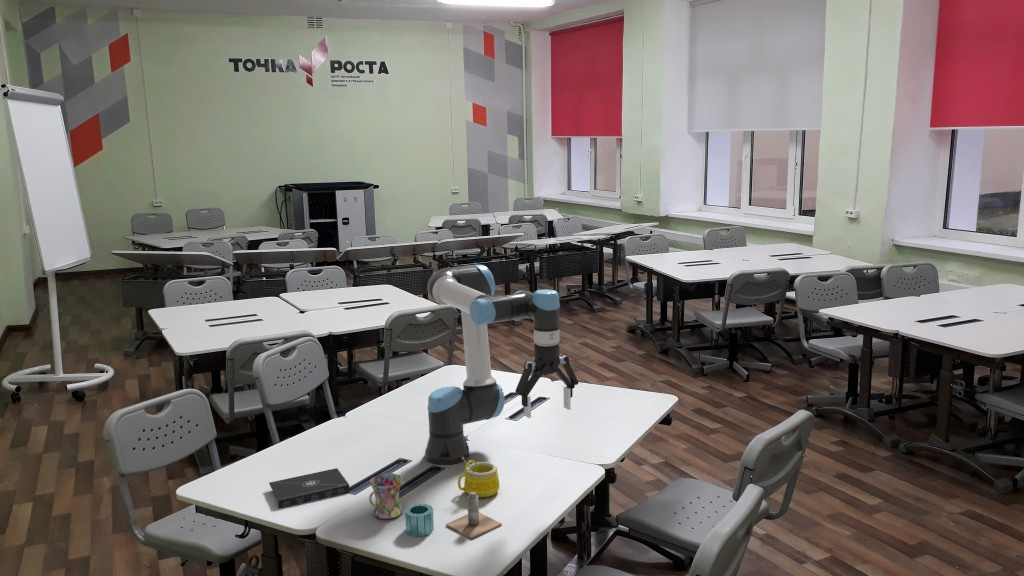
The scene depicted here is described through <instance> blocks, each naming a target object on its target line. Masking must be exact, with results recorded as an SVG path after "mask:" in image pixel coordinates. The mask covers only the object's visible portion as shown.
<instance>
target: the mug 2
mask: <svg viewBox="0 0 1024 576" xmlns="http://www.w3.org/2000/svg"><path fill="white" fill-rule="evenodd" d="M462 460H464V457H462ZM463 462H464V463H465V466H464V473H462V474H460V475H459V476H458V478H457V480H458V481H457V487H458V489H459V490H460V491H463V492H465V493H466V494H467V495H469V493H470V492H476V495H477V496H478V499H479V498H488V497H492V496H493V495H495V494H497V493H498V492H499V489H500V478H499V474H498V467H497V466H496V464H494V463H491V462H485V461H478V462H477V461H475V460H473V459H470V460H469V461H467V462H466V460H464V461H463ZM470 463H471V464H470ZM462 478H464V486H463V487H462V485H461V482H462V480H461V479H462Z"/></svg>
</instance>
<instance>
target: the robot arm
mask: <svg viewBox="0 0 1024 576" xmlns="http://www.w3.org/2000/svg"><path fill="white" fill-rule="evenodd" d="M426 288H427V293H428V296H429V297H430V298H431V299H432V300H433V301H434V302H436V303H437V304H440V305H443V306H447V305H449V306H452V307H454V308H456V309H458V310H460V314H461V326H462V335H463V336H462V337H463V347H464V361H465V371H466V379H465V380H464V381H463V382H462V383H463V384H462V386H463V387H462V388H463V389H462V388H461V387H460V386H456V385H455V386H452V385H451V386H444V387H440V388H437V389H435V390H434V391H432V392H431V393H430V394H429V396H428V398H427V411H428V430H429V431H428V434H429V436H428V440H427V444H426V447H425V451H424V458H425V460H426V461H427V462H429V463H431V464H436V465H454V464H458V463H462V462H465V461H466V460H467V459H468V458H469V457H470V448H469V445H468V441H467V439H466V437H465V434H464V425H467V424H471V423H472V424H473V423H477V422H480V421H485V420H486V421H488V420H491V419H493V418H496V417H499V415H501V413H502V412H503V411H504V406H505V394H504V393H505V392H504V390H503V387H502V385H500V384H499V383H497V379H496V378H494V376H492V369H491V367H492V366H491V355H490V343H489V333H488V325H489V324H494V323H501V322H508V321H514V320H521V319H530V320H533V342H534V343H533V356H534V361H527V360H526V361H524V366H523V368H524V369H523V371H522V374H521V375H520V379H519V381H518V383H517V386H516V388H515V390H514V392H515V394H517V395H518V396H521V406H522V407H523V409H524V410H523V416H525V417H526V418H528V419H530V418H532V407H531V406H532V402H531V401H532V399H531V398H532V397H531V395H530V393H531V391H533V389H534V387H535V385H536V384H537V382H538V381H539V380H540V379H541V378H542V376H548V375H552V374H555V375H556V376H557V377H558V378H559V379H560V380H561V381H562V382H563V384H564V385H565V386H563V408H564V409H566V410H568V411H570V410H572V409H571V403H572V402H571V398H573V394H574V393H573V392H574V391H573V389H575V386H577V385H579V380H578V378H577V376H576V374H575V372H574V370H573V368H572V366H571V364H570V358H569V356H567V355H564V354H562V355H561V356H560V353H561V351H560V350H561V349H560V346H561V345H560V344H559V342H560V310H561V309H560V306H561V304H560V296H559V293H558V291H556V290H554V289H537V290H536V291H535V290H534V292H531V291H528V290H517V291H516V292H514V293H513V294H505V295H498V296H493V295H495V291H496V282H495V279H494V276H493V273H492V272H491V270H490V269H489V268H488V267H487V266H485V265H484V264H470V265H462V266H461V265H460V266H453V267H444V268H440V269H438V270H437V271H435V272H434V273H433V274H432V275H431V276H430V277H429V280H428V282H427V286H426ZM560 363H561V364H562V368H563V369H564V371H565V373H566V375H567V376H566V375H565V374H564V373H563V371H562V370H561V369H560V367H559V365H560ZM462 457H464V460H465V461H464V460H462Z"/></svg>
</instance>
